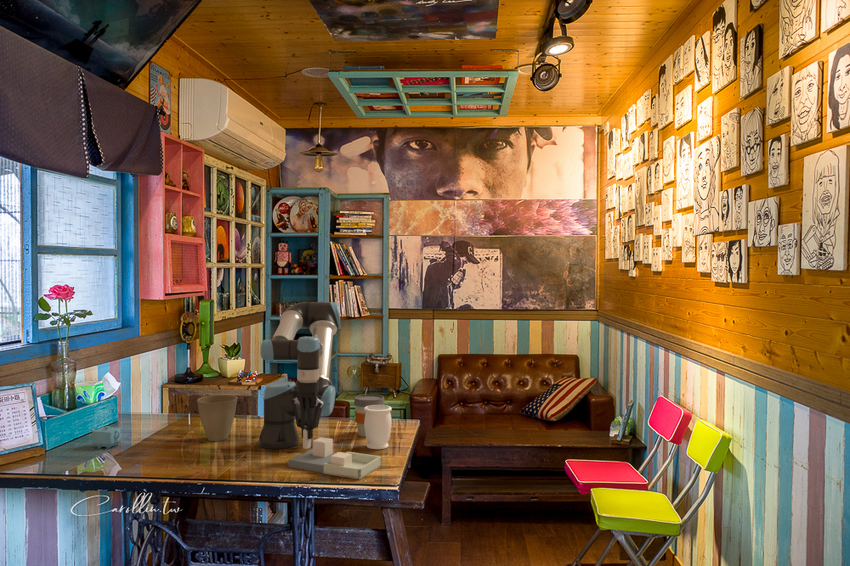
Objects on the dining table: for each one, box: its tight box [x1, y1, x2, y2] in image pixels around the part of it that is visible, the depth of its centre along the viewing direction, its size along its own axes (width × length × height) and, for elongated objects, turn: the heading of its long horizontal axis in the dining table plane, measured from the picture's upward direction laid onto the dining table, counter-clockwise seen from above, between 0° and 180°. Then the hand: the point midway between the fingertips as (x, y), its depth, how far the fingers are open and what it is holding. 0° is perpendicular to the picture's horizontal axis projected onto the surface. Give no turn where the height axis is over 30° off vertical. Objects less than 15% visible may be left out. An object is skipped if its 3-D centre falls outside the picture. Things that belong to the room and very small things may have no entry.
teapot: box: [89, 425, 122, 450], centre depth 212 cm, size 12×6×8 cm, turn 87°
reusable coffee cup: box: [353, 393, 385, 437], centre depth 235 cm, size 13×13×15 cm
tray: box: [323, 451, 383, 481], centre depth 189 cm, size 14×15×3 cm
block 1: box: [312, 437, 334, 457], centre depth 198 cm, size 5×5×5 cm
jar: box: [364, 404, 393, 450], centre depth 216 cm, size 11×10×15 cm
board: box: [288, 448, 339, 474], centre depth 195 cm, size 14×14×2 cm
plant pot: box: [196, 394, 238, 442], centre depth 224 cm, size 15×15×16 cm
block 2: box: [331, 451, 352, 467], centre depth 187 cm, size 5×5×5 cm
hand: (307, 447), depth 200 cm, fingers closed
